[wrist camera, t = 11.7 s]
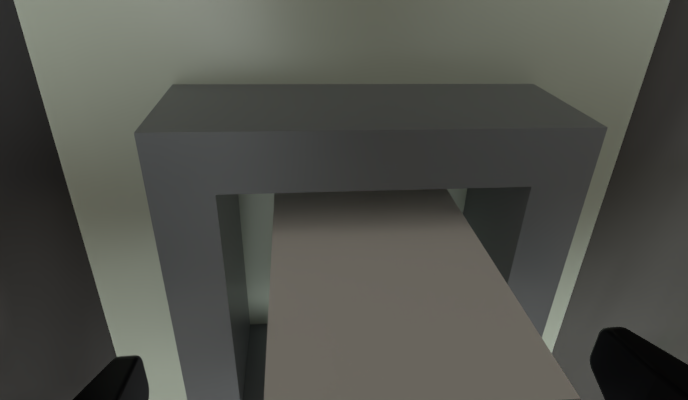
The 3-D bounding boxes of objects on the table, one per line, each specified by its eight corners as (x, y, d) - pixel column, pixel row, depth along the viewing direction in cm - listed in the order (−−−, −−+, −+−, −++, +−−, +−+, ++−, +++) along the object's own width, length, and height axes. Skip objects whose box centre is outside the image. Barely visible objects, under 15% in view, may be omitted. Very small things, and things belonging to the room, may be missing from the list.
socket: (145, 391, 17) (104, 519, 13) (26, -65, 10) (-131, -68, 6) (523, 365, 18) (584, 474, 14) (648, -46, 11) (821, -40, 8)
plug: (281, 294, 14) (274, 667, 7) (275, 169, 12) (257, 510, 5) (416, 288, 14) (543, 634, 7) (432, 166, 12) (630, 476, 5)
